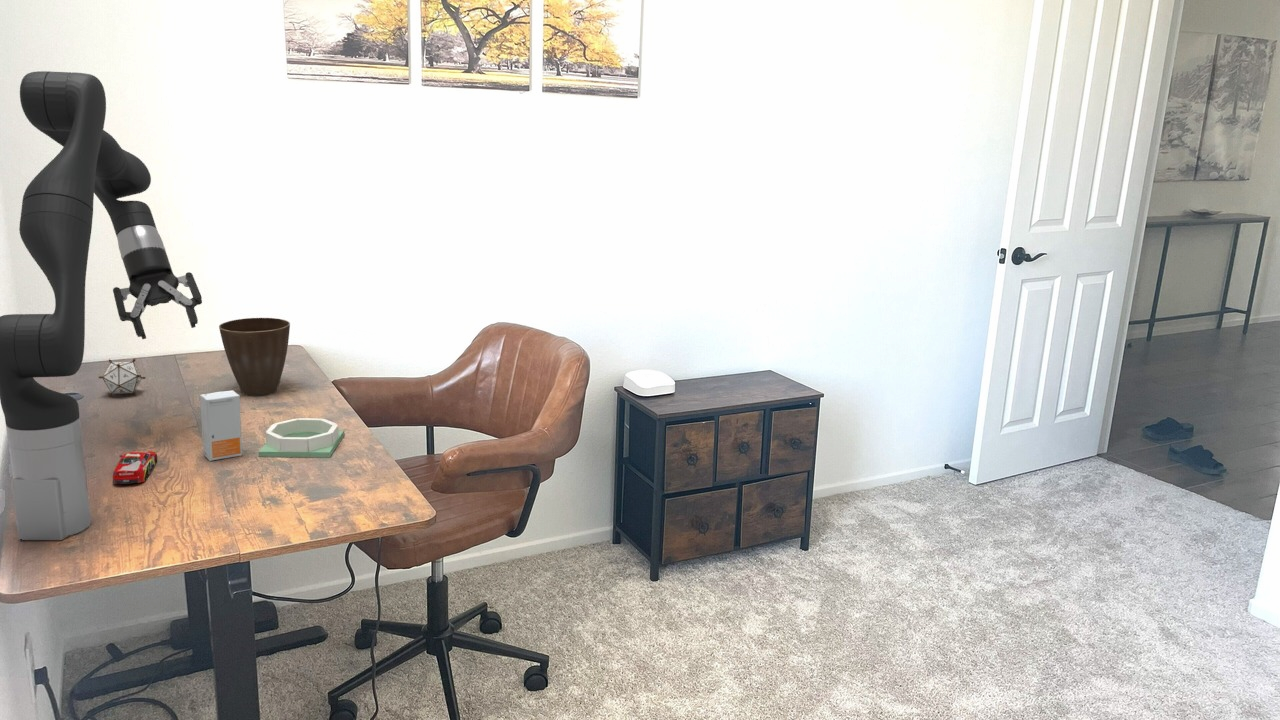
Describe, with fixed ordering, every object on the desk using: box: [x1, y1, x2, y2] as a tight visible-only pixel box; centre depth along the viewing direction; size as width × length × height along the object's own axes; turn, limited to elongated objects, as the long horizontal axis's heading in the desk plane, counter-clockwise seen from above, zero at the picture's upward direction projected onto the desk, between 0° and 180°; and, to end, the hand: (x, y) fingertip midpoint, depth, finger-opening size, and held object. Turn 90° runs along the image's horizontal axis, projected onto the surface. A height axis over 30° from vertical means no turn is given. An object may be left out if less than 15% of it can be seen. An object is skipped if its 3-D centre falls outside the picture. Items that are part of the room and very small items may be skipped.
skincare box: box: [199, 390, 243, 462], centre depth 170 cm, size 6×4×12 cm
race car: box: [112, 450, 158, 485], centre depth 161 cm, size 13×5×4 cm, turn 15°
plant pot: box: [218, 317, 291, 396], centre depth 209 cm, size 15×15×16 cm
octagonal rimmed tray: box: [258, 417, 345, 458], centre depth 178 cm, size 13×13×4 cm
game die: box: [98, 358, 146, 398], centre depth 204 cm, size 9×8×10 cm
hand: (169, 331), depth 171 cm, fingers open, 8 cm apart
